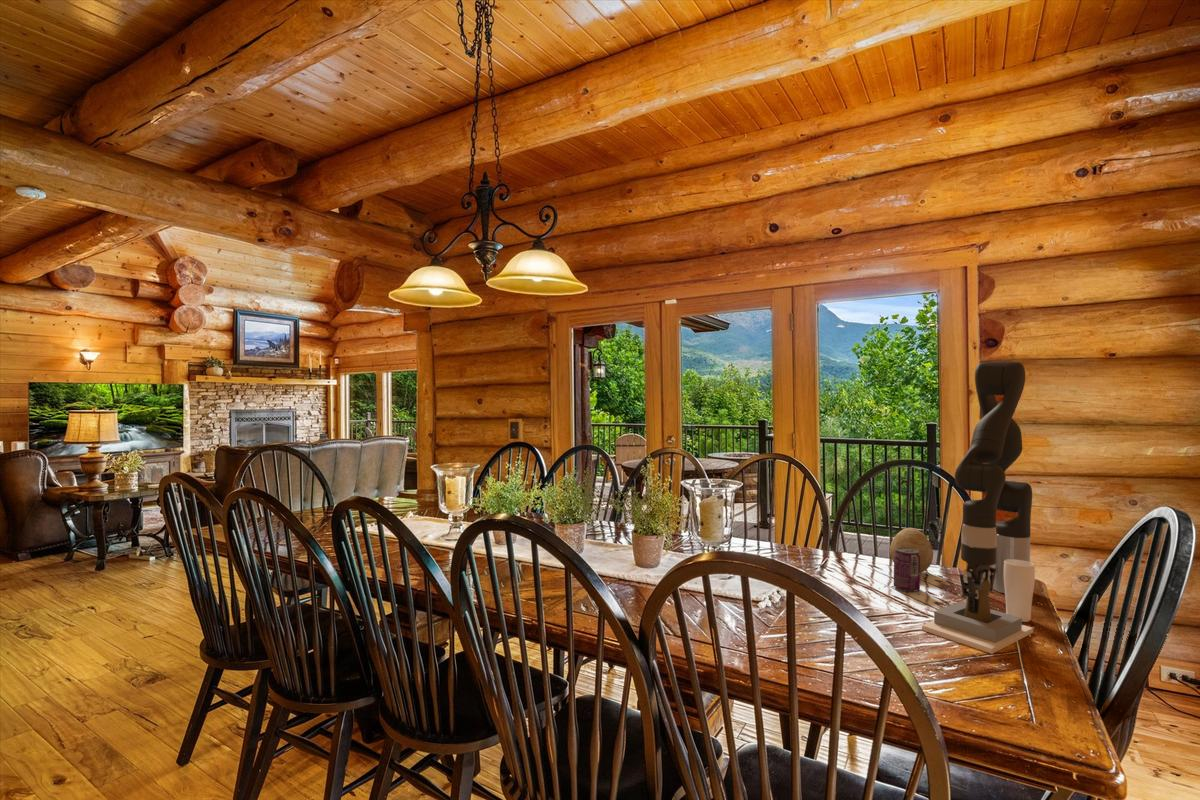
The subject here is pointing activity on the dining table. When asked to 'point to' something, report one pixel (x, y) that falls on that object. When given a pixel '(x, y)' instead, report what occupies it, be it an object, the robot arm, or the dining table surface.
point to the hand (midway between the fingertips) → (977, 610)
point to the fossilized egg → (914, 546)
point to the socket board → (974, 639)
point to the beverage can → (907, 569)
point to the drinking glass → (1019, 588)
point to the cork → (981, 605)
